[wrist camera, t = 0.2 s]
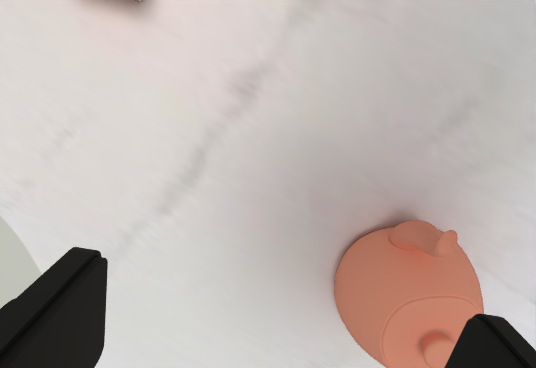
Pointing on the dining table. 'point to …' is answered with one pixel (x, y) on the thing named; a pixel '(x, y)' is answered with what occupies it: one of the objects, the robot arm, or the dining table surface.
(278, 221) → the dining table surface
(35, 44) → the dining table surface
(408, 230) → the teapot
